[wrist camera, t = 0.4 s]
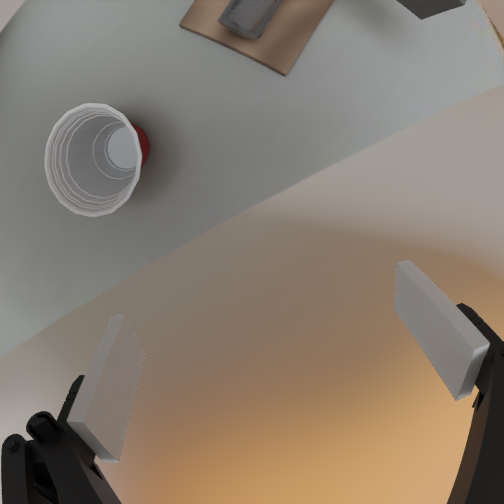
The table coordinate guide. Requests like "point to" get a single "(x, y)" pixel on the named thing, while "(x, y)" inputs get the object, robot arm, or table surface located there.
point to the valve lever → (430, 6)
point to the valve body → (249, 16)
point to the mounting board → (273, 39)
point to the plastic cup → (94, 159)
